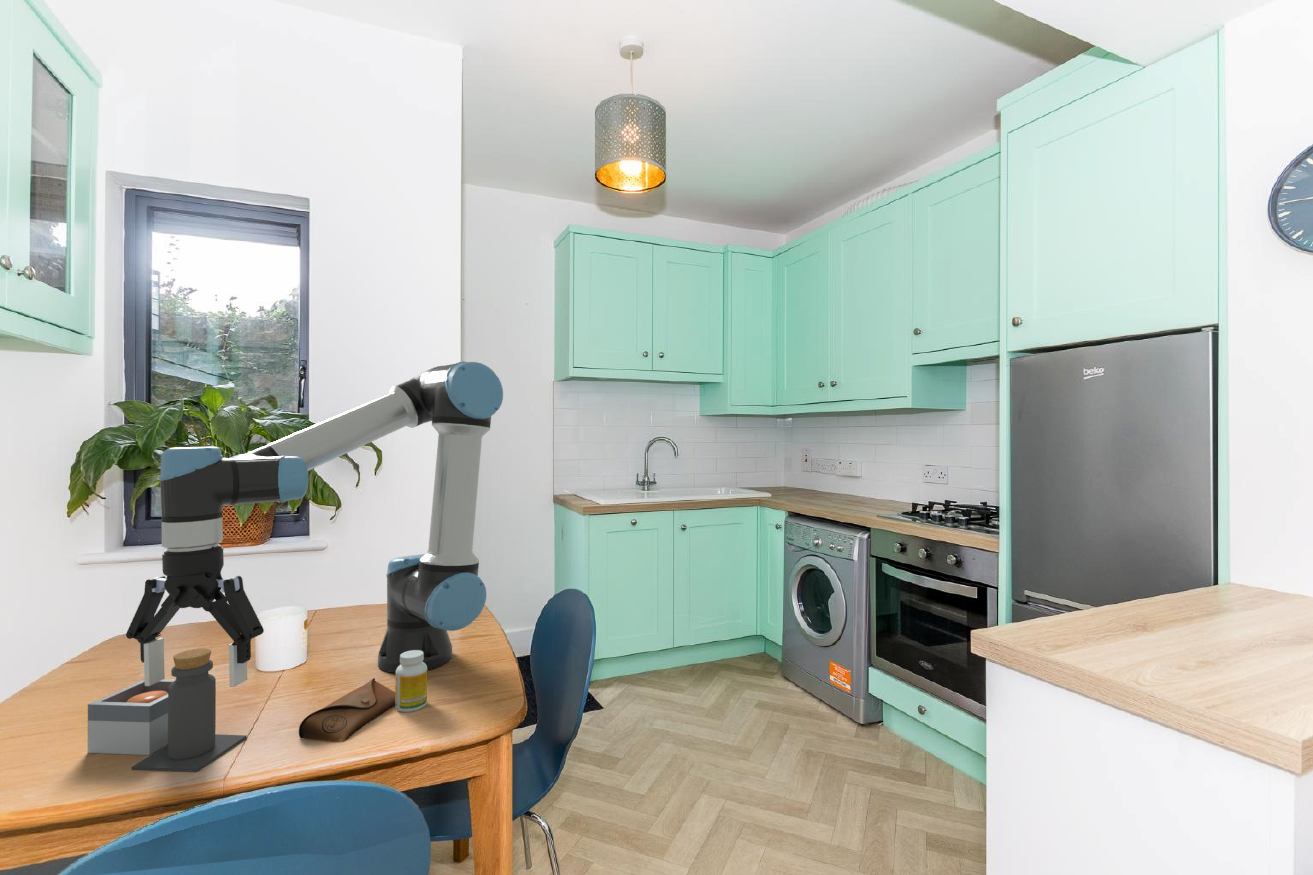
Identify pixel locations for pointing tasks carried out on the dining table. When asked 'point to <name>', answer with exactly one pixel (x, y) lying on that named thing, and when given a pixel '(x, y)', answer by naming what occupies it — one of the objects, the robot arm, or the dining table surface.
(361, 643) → the dining table surface
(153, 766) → the coaster
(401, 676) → the supplement bottle
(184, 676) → the bottle
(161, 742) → the grey open box
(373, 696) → the sunglasses case
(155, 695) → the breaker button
